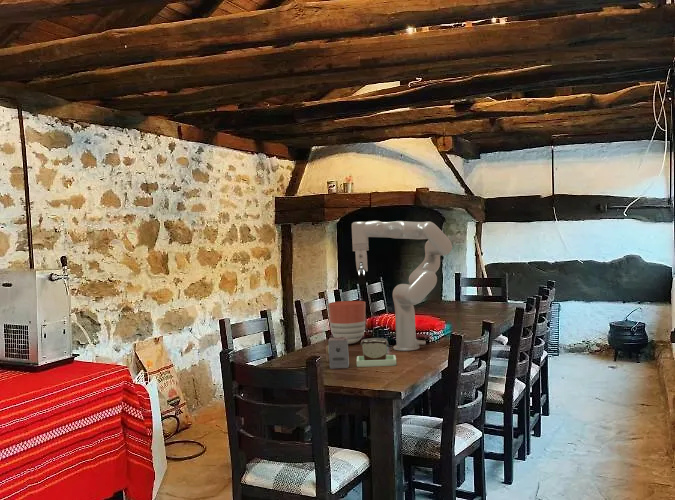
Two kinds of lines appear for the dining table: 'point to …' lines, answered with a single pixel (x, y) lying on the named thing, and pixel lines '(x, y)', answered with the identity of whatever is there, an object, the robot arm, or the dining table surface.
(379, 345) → the food container
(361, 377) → the dining table surface
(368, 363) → the tray
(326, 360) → the walnut cartridge
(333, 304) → the planter
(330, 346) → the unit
